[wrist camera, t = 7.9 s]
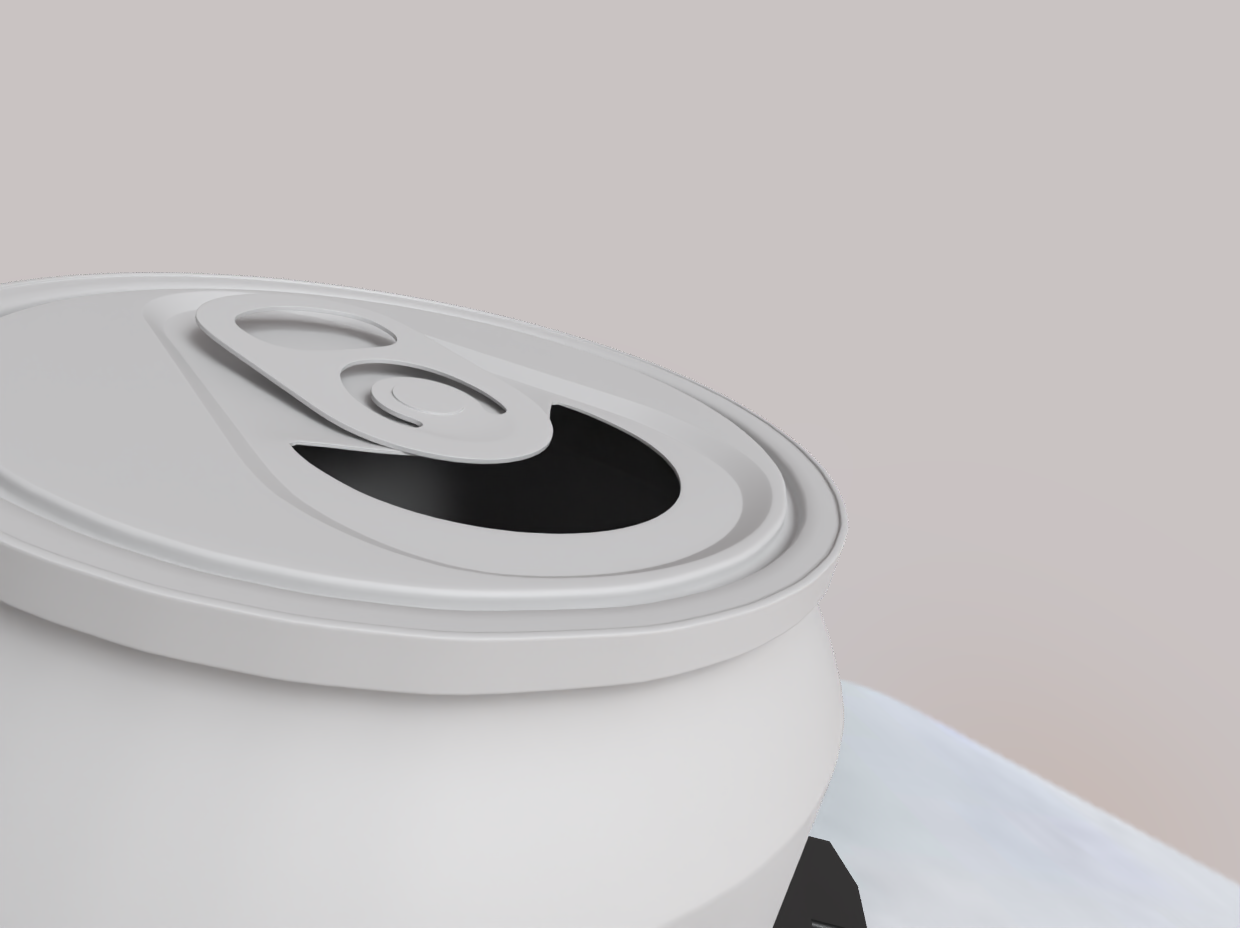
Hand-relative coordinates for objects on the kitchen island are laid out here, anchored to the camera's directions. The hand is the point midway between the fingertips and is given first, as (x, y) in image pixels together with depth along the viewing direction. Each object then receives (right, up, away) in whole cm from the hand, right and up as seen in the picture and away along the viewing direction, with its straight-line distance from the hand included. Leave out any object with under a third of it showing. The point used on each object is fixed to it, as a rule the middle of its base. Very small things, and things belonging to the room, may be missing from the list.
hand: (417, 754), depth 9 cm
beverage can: (-2, -7, 0) cm, 8 cm away
